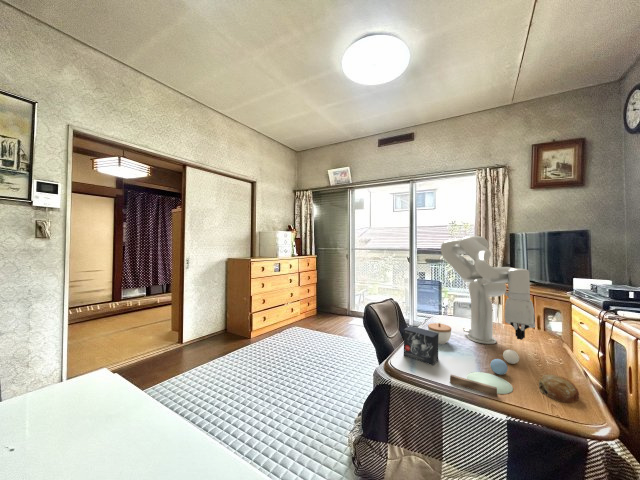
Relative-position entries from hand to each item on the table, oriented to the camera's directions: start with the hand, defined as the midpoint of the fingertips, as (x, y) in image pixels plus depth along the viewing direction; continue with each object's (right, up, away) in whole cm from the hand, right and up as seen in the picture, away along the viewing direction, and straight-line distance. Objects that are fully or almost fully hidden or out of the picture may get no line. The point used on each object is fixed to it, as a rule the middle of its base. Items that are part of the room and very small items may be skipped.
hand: (520, 338), depth 114 cm
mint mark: (-27, -9, -20) cm, 34 cm away
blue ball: (-19, -6, -14) cm, 24 cm away
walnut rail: (-35, -9, -24) cm, 43 cm away
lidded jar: (-27, -9, +18) cm, 34 cm away
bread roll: (-8, -9, -27) cm, 29 cm away
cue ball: (-8, -6, -5) cm, 11 cm away
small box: (-44, -9, 0) cm, 45 cm away
